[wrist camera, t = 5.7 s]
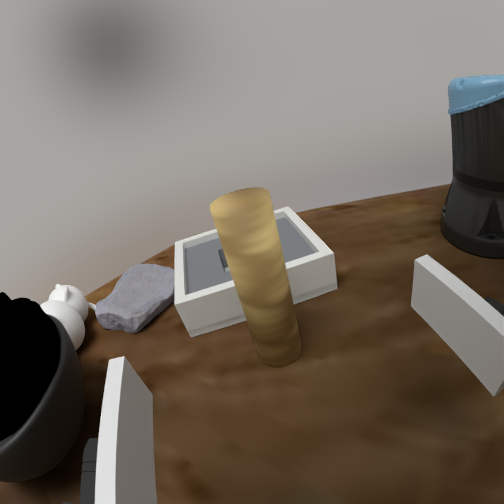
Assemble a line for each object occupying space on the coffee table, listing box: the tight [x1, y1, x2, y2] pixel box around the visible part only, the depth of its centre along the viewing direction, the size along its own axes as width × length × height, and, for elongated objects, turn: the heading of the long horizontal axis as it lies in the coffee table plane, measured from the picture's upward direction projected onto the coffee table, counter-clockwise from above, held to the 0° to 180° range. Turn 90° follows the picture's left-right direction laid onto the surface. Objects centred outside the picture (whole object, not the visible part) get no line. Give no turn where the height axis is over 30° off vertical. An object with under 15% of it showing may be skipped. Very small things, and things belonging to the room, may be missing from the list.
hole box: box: [175, 207, 338, 337], centre depth 41 cm, size 18×16×5 cm
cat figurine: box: [40, 284, 96, 350], centre depth 37 cm, size 9×11×12 cm
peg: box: [210, 188, 302, 367], centre depth 26 cm, size 4×4×16 cm
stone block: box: [95, 264, 175, 334], centre depth 42 cm, size 12×5×10 cm
